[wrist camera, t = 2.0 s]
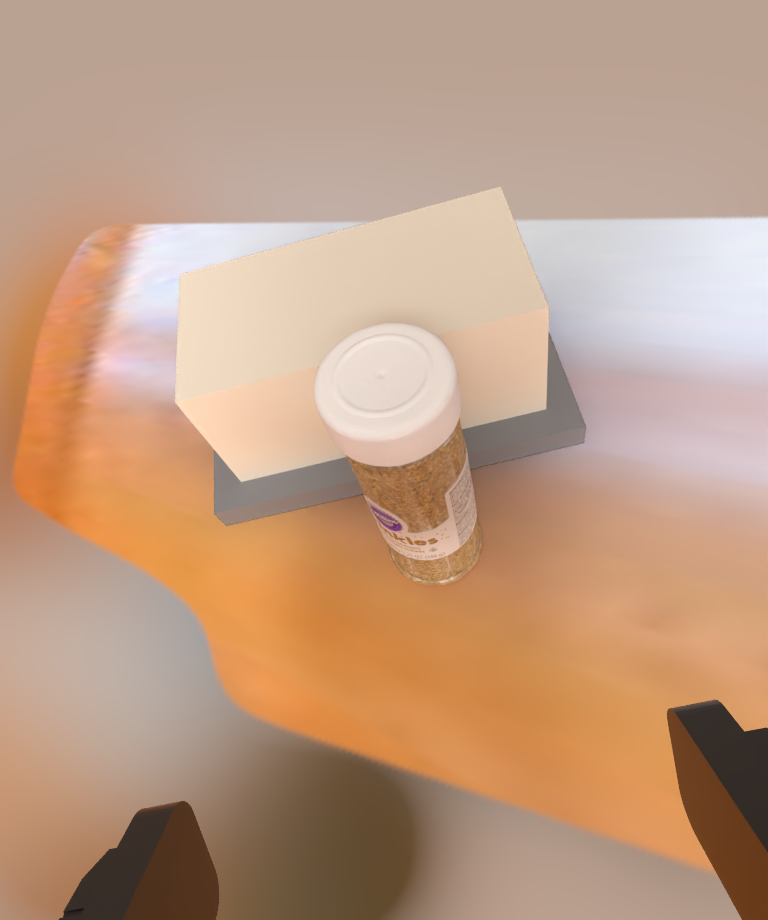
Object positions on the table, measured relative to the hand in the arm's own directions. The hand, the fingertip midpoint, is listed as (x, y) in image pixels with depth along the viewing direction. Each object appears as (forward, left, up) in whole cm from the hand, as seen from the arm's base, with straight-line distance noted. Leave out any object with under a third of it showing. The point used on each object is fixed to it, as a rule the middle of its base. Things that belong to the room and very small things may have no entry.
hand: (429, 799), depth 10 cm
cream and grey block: (+1, -21, -17) cm, 27 cm away
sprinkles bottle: (0, -12, -17) cm, 21 cm away
